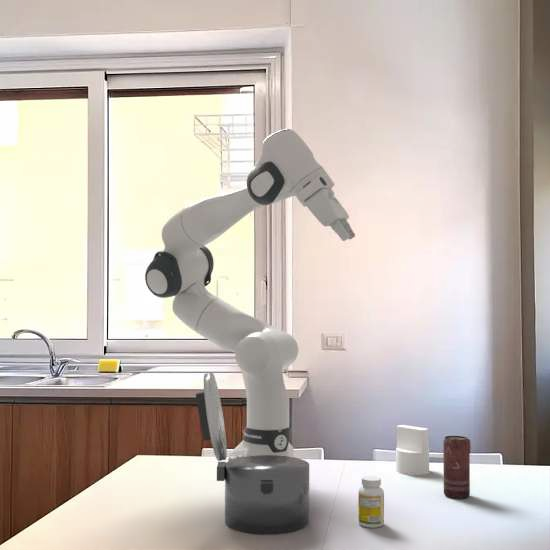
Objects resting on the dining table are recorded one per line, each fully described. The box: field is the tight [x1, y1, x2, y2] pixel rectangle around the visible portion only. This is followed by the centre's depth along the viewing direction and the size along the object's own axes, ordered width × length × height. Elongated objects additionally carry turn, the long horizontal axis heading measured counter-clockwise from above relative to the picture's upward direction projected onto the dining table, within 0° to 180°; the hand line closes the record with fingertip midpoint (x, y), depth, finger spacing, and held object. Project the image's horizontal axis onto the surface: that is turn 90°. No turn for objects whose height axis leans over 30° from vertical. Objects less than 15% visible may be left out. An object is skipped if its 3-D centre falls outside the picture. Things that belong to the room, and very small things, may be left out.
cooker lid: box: [195, 372, 228, 462], centre depth 152 cm, size 19×19×4 cm
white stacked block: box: [395, 424, 430, 476], centre depth 196 cm, size 9×9×12 cm
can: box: [442, 435, 472, 500], centre depth 171 cm, size 6×6×14 cm
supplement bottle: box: [357, 475, 385, 529], centre depth 149 cm, size 5×5×10 cm
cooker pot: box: [216, 455, 310, 535], centre depth 152 cm, size 20×23×12 cm
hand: (349, 238), depth 162 cm, fingers open, 8 cm apart
